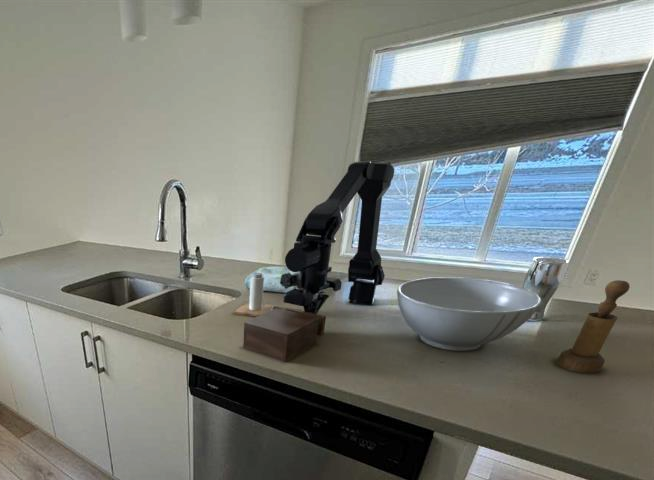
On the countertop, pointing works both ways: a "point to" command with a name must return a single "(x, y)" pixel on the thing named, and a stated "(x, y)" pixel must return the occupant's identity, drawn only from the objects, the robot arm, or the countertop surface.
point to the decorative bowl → (464, 310)
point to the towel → (272, 279)
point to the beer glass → (544, 280)
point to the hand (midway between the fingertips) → (309, 321)
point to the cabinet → (280, 333)
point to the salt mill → (256, 291)
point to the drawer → (321, 317)
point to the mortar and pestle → (594, 334)
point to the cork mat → (246, 311)
